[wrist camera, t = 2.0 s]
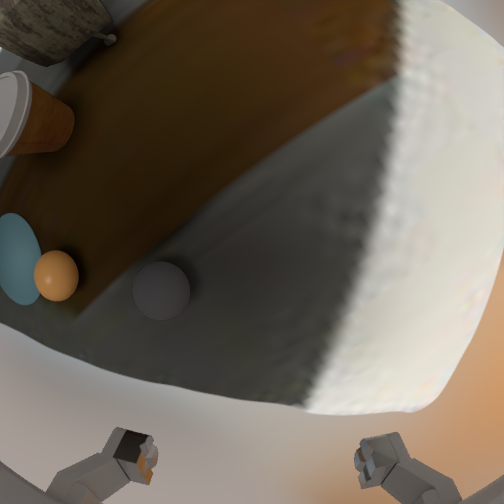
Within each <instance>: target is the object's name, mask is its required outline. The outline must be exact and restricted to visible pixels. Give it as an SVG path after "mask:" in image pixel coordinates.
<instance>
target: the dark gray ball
mask: <svg viewBox="0 0 504 504" xmlns="http://www.w3.org/2000/svg"><path fill="white" fill-rule="evenodd" d="M132 295H133V299H134V302H135V304H136V306H137V308H138V309H139V310H140V311H141V312H142V313H143V314H144V315H145V316H147V317H149V318H151V319H154V320H158V321H166V320H170V319H173V318H175V317H177V316H178V315H180V314H181V313H182V312H183V311H184V309H185V308H186V306H187V304H188V302H189V299H190V284H189V281H188V279H187V277H186V275H185V274H184V272H183V271H182V270H181V269H180V268H179V267H177V266H176V265H174V264H172V263H169V262H164V261H157V262H152V263H150V264H147V265H146V266H144V267H143V268H142V269H141V270H140V271H139V272H138V273H137V275H136V277H135V279H134V281H133V286H132Z"/></svg>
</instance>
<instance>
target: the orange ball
mask: <svg viewBox="0 0 504 504" xmlns="http://www.w3.org/2000/svg"><path fill="white" fill-rule="evenodd" d="M78 278H79V275H78V269H77V266H76V264H75V262H74V260H73V259H72V258H71V257H70V256H69V255H68V254H66V253H65V252H62V251H58V250H53V251H49V252H47V253H45V254H43V255H42V256H41V257H40V258H39V260H38V261H37V263H36V266H35V269H34V281H35V284H36V287H37V289H38V291H39V292H40V293H41V294H42V295H43V296H44V297H45V298H47V299H49V300H52V301H62V300H65V299H67V298H68V297H70V296H71V295H72V294H73V293H74V291H75V289H76V287H77V284H78Z"/></svg>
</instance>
